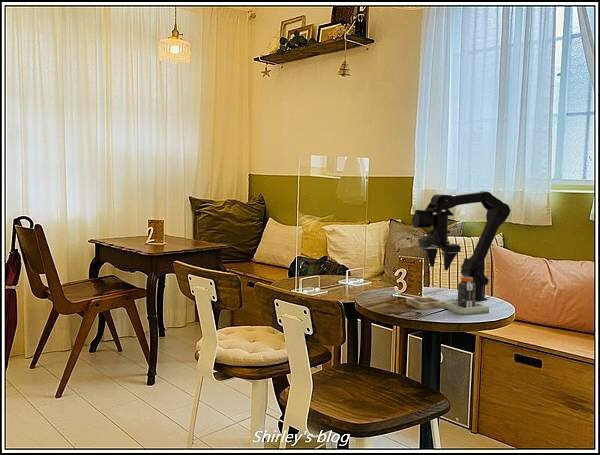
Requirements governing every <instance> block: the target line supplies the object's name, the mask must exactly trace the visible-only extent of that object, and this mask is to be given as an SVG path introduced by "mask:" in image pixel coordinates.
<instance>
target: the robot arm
mask: <svg viewBox="0 0 600 455" xmlns="http://www.w3.org/2000/svg"><path fill="white" fill-rule="evenodd" d="M476 203H477V204H478V203H481V205H482V207H483V208H484V209H485V210H486V215H485V218H486V223H485V226H484V228H483V230H482V232H481V235H480V237H479V239H478V241H477V244H476V246H475V248H474V250H473V253H472V255H471V256H470V257H469V258H467V257H465V258H464V259H463V261H462V262H463V263H462V265H461V266H460V268H461V270H460V273H461V277H463V276H467V277H473V283H474V284H475V302H477V301H479V302H480V301H487V300H488V297H487V298H486V296H485V295H486V294H485V293H486V286H488V284H489V282H490V279H489V278H488V277H487V276H486V275H485V274H484V272H485V266H486V265H485V259H486V257H487V255H488V253H489V251H490V248H491V246H492V243H493V242H494V239H495V238H496V237H495V236H496V234H497V232H498V230H499V228H500V227H501V226H502V224H503V223H505V222H506V221H507V219H508V218H509V216H510V214H511V209H510V208H511V207H510V206H509V204H507V203H505V202H503V201H502V200H501V199H499V198H498V197H497V196H494V195H493V194H492V193H491V192H490V191H487V190H486V191H483V190H481V191H478V192H471V193H463V194H453V195H451V194H437V193H436V194H434V195H432V197H431V199H430V201H429V204H428V205H427V206H426V208H425V209H415V210H414V214H413V215H412V218H411V224H412V226H413V228H414V229H428V228H429V231H428V234H426V235H423V236H422V237H419V238H418V239H417V241H418V245H419V248H420V249H421V250H422V251H424V253H425V255H426V257H427V260H428V264H429V267H430V268H433V267H435V266H434V265H435V263H436V258H437V253H438V250H439V249H440V250H441V252H440V254H441V255H442V257H443V268H444V271H446V272H447V271H448V270H449V268H450V267H451V265H452V263H453V261H454V260H455V258H456V256H457V255H458V254H459V253H461V252H462V251H461V249H462V248H461V246H460V244H457V243H451V242H450V241H448V234H451V230H449V229H448V227H449V217H451V216H452V217H453V216H454V215H455V214H454V213H453V212H452V211H451V210H450V209H452V208H454V207H456V206H461V205H469V204H476ZM430 228H431V229H430Z"/></svg>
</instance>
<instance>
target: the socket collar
mask: <svg viewBox="0 0 600 455" xmlns="http://www.w3.org/2000/svg"><path fill="white" fill-rule="evenodd" d="M444 302H445V301H443V300H440V299H437V298H434V297H431V296H421V297H420V296H419V297H406V299H405V303H406V305H408V306H411V307H415V308H416V309H419V310H428V309H440V308H444Z"/></svg>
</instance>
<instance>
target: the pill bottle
mask: <svg viewBox="0 0 600 455" xmlns="http://www.w3.org/2000/svg"><path fill="white" fill-rule="evenodd" d="M460 281H461V282H459V283H458V285H457V301H458V304H457V305H458V306H460V307H463V308H469V307H475V302H476V301H475V284H474V283H473V277H467V276H461V280H460Z"/></svg>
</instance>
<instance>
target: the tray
mask: <svg viewBox="0 0 600 455" xmlns="http://www.w3.org/2000/svg"><path fill="white" fill-rule="evenodd" d="M457 304H458V300H457V301H456V300H455V301H444V307H443V308H444V309H445V310H448V311H451V312H454V313H456V314H457V313H458V314H460V315H462V316H463V315H464V316H465V315H466V316H467V315H475V314H485V313H490V306H489V305H487V304H483V303H479V302H477V301H475V307H469V308H463V307H460V306H458V305H457Z"/></svg>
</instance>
